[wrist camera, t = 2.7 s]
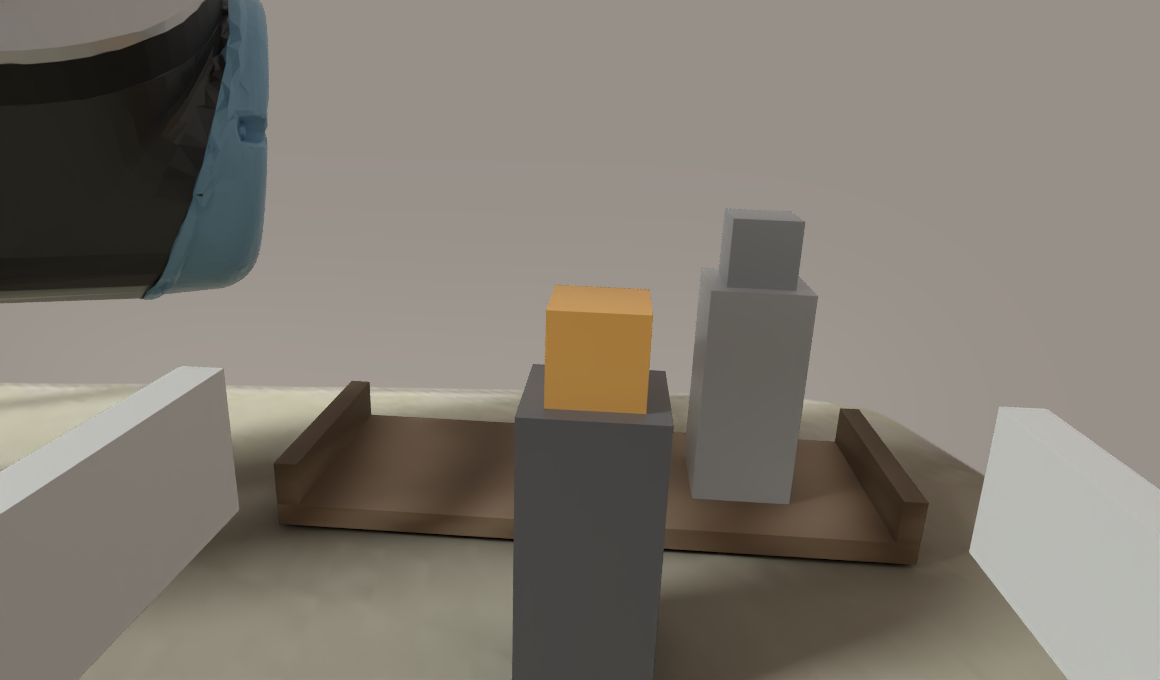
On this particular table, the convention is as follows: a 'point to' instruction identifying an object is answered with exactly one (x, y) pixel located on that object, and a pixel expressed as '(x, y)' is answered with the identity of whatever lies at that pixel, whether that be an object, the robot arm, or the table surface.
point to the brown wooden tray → (486, 487)
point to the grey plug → (750, 361)
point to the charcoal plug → (591, 492)
